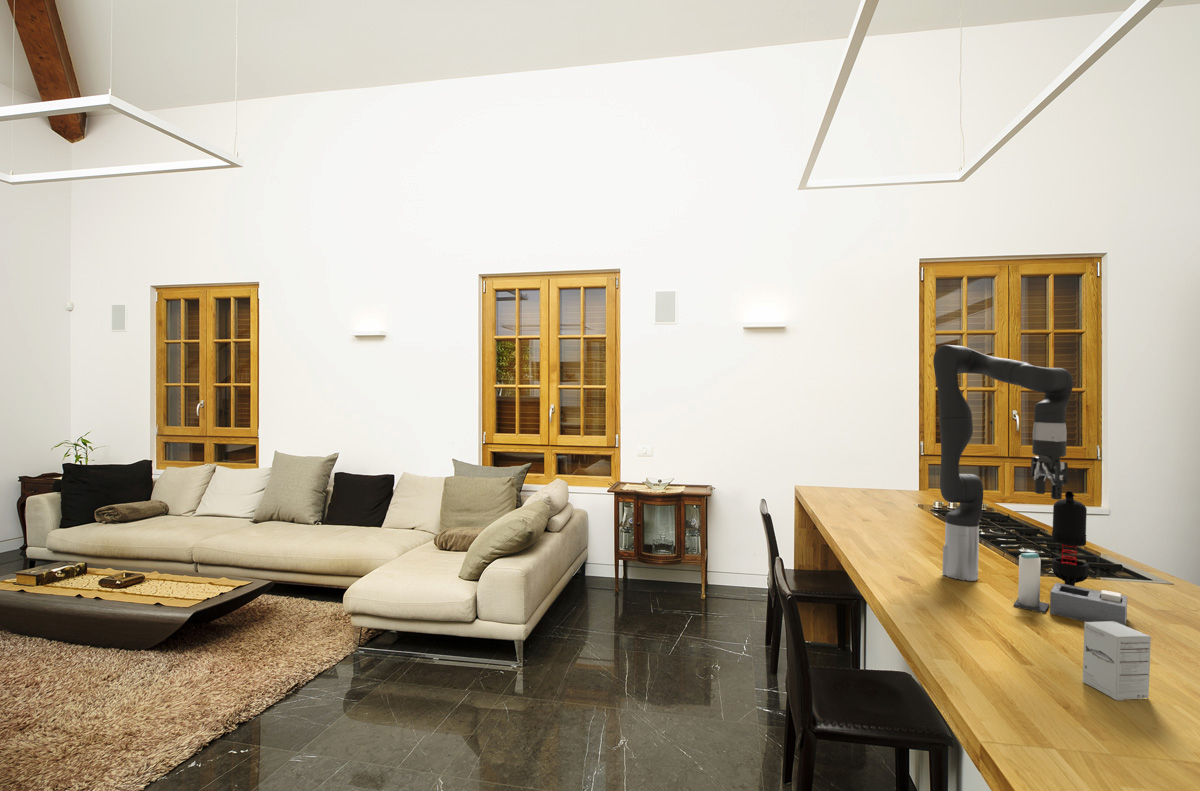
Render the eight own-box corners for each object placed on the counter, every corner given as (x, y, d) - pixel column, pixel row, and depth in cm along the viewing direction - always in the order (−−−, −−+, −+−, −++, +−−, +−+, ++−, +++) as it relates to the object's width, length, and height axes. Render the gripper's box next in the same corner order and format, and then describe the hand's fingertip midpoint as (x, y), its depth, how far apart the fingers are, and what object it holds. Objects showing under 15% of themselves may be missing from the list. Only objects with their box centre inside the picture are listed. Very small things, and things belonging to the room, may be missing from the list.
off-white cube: (1100, 612, 152) (1100, 593, 152) (1101, 608, 155) (1102, 589, 155) (1119, 616, 149) (1120, 596, 149) (1120, 612, 152) (1121, 593, 152)
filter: (1087, 594, 173) (1090, 493, 173) (1049, 586, 179) (1051, 489, 179) (1089, 583, 183) (1091, 488, 183) (1053, 576, 189) (1055, 484, 189)
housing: (1049, 613, 157) (1050, 591, 156) (1055, 603, 164) (1055, 582, 164) (1124, 630, 146) (1125, 606, 146) (1126, 618, 154) (1127, 596, 154)
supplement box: (1080, 682, 119) (1082, 621, 119) (1114, 681, 120) (1115, 620, 120) (1115, 701, 112) (1117, 636, 112) (1150, 700, 113) (1152, 635, 112)
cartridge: (1030, 607, 159) (1031, 556, 159) (1014, 601, 164) (1015, 551, 164) (1043, 606, 161) (1045, 555, 161) (1027, 599, 165) (1028, 550, 165)
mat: (1013, 606, 162) (1013, 604, 162) (1018, 599, 168) (1018, 597, 168) (1045, 613, 157) (1045, 611, 157) (1049, 605, 163) (1049, 603, 163)
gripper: (1021, 436, 171) (1020, 491, 171) (1047, 440, 157) (1046, 500, 157) (1050, 437, 169) (1049, 492, 169) (1079, 441, 155) (1078, 501, 155)
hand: (1047, 496), depth 163 cm, fingers open, 8 cm apart
